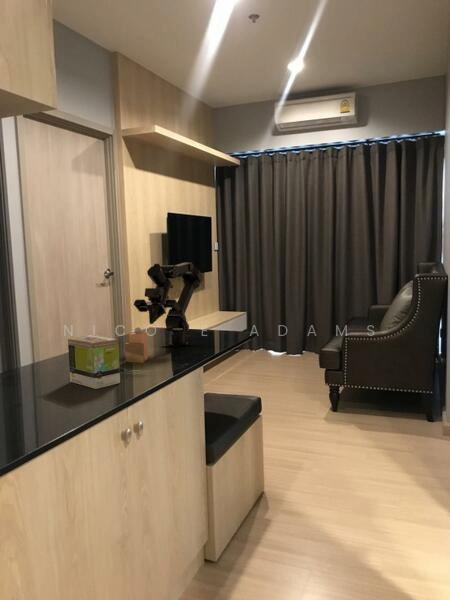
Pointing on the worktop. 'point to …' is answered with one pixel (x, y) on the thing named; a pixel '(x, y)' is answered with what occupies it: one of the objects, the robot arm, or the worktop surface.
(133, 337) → the slider
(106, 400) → the worktop surface
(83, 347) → the tea box
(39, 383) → the worktop surface
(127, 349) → the track
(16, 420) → the worktop surface
